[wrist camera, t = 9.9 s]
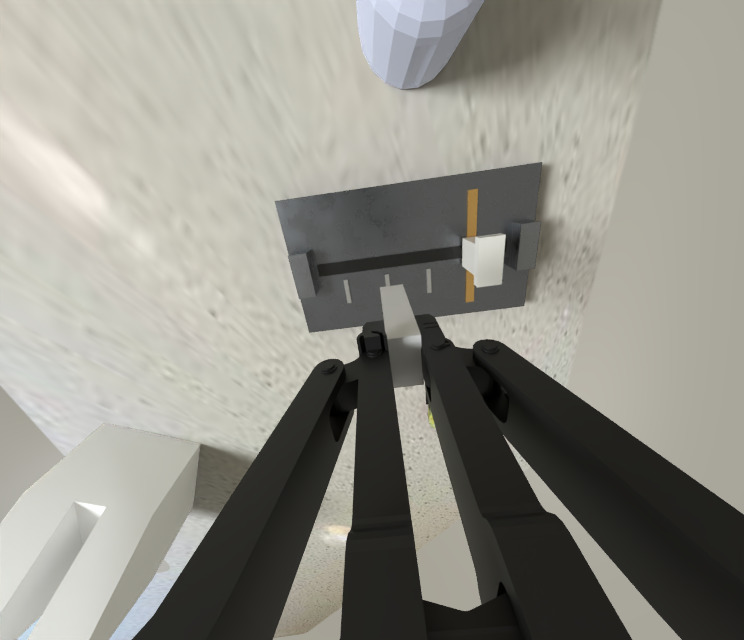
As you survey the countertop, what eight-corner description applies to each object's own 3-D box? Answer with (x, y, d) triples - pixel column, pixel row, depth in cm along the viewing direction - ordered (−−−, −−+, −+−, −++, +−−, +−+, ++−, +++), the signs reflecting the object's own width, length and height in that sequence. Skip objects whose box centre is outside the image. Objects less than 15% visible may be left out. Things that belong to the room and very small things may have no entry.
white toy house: (193, 505, 54) (68, 727, 32) (111, 490, 52) (-88, 719, 29) (200, 443, 47) (43, 677, 24) (104, 422, 44) (-172, 660, 22)
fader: (460, 230, 29) (479, 238, 24) (482, 228, 29) (505, 234, 24) (460, 273, 31) (477, 287, 26) (480, 270, 31) (501, 284, 26)
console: (280, 200, 30) (268, 201, 26) (531, 164, 29) (554, 159, 25) (312, 325, 37) (306, 340, 33) (516, 300, 36) (532, 312, 32)
